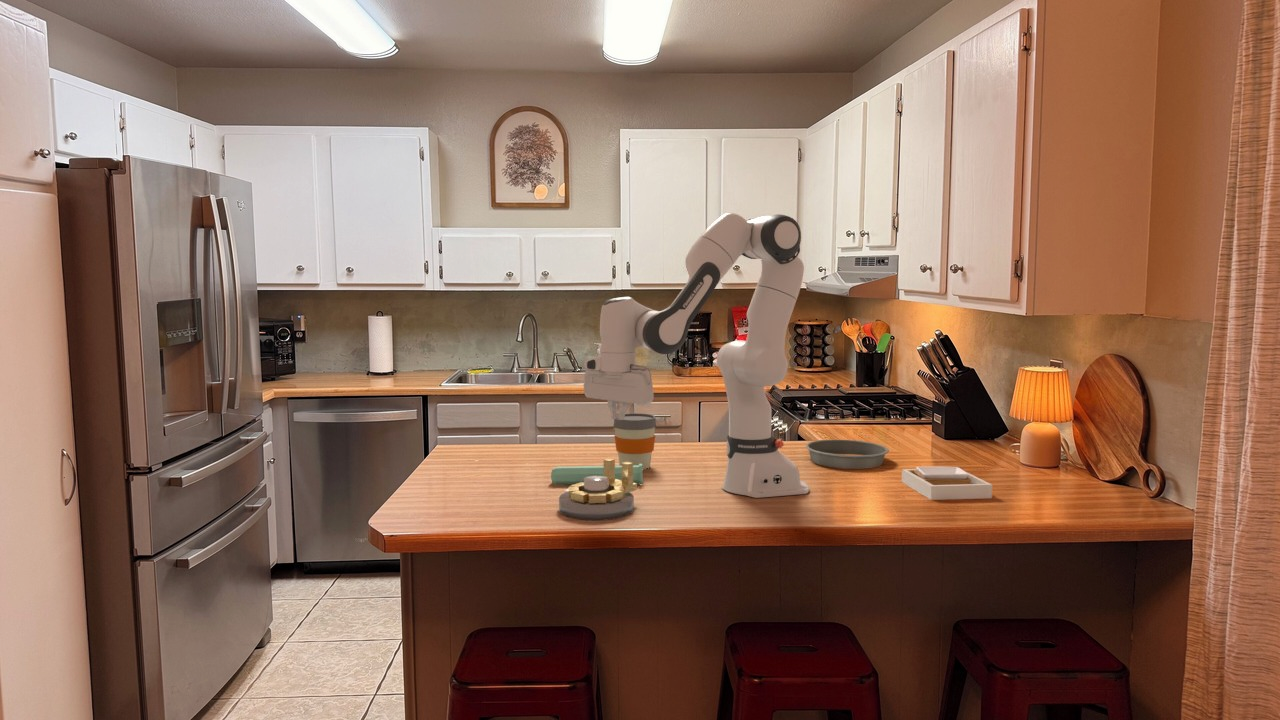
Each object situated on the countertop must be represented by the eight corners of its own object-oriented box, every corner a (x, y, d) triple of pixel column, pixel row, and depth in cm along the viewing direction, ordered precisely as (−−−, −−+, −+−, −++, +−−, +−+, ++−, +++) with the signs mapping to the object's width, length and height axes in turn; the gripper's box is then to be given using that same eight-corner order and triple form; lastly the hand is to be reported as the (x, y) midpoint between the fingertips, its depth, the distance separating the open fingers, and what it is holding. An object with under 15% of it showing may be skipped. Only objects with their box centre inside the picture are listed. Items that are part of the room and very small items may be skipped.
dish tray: (957, 480, 225) (958, 468, 224) (991, 498, 207) (992, 484, 206) (901, 482, 223) (902, 469, 223) (930, 499, 205) (931, 486, 205)
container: (549, 463, 220) (642, 461, 220) (552, 466, 226) (642, 465, 226) (549, 485, 219) (642, 483, 218) (551, 488, 224) (642, 486, 224)
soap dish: (959, 484, 222) (960, 466, 221) (971, 493, 212) (972, 474, 211) (912, 483, 222) (913, 465, 222) (922, 493, 213) (922, 474, 212)
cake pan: (898, 471, 237) (899, 455, 236) (813, 470, 237) (814, 455, 237) (876, 452, 261) (876, 438, 261) (799, 452, 262) (799, 438, 261)
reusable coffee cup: (662, 469, 238) (662, 418, 236) (622, 473, 233) (622, 421, 232) (646, 460, 250) (646, 412, 248) (607, 464, 245) (607, 414, 243)
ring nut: (598, 506, 188) (597, 476, 187) (557, 496, 196) (556, 467, 196) (644, 491, 201) (644, 463, 200) (604, 482, 209) (604, 455, 209)
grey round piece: (630, 498, 207) (630, 469, 207) (636, 519, 190) (636, 487, 189) (559, 500, 206) (559, 470, 205) (559, 521, 188) (558, 489, 187)
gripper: (659, 365, 196) (659, 422, 197) (596, 359, 209) (596, 413, 211) (642, 367, 191) (642, 425, 193) (579, 361, 204) (579, 416, 206)
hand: (618, 419), depth 202 cm, fingers closed
